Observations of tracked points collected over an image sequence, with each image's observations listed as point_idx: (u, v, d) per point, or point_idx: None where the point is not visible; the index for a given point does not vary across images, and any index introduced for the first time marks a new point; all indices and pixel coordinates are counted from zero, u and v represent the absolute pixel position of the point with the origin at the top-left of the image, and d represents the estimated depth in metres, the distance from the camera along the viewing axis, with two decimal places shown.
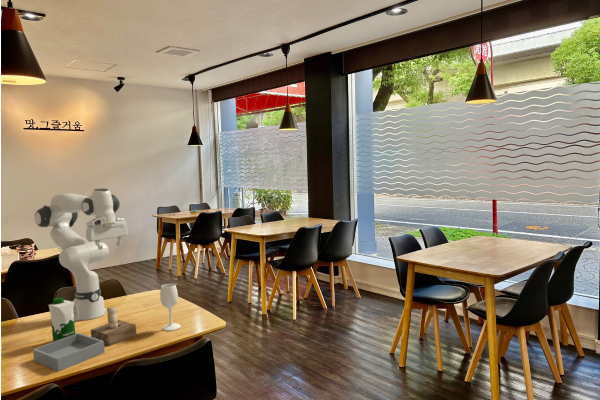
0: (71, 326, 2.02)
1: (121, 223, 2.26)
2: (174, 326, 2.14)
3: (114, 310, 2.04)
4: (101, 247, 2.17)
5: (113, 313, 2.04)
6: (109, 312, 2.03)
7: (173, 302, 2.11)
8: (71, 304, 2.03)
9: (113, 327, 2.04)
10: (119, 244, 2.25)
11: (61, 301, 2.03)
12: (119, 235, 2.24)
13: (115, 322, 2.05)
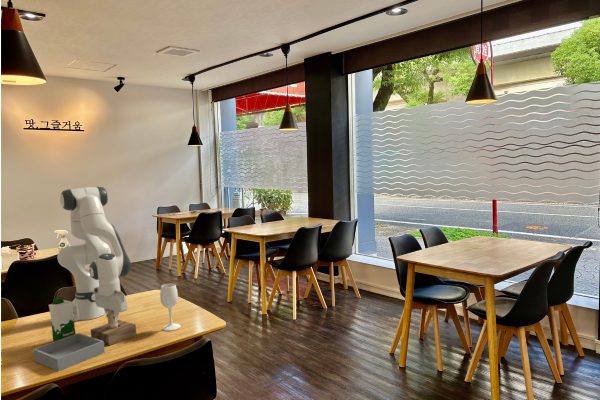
0: (71, 326, 2.02)
1: (115, 297, 1.99)
2: (174, 326, 2.14)
3: None
4: (107, 315, 2.06)
5: (113, 313, 2.04)
6: (109, 312, 2.03)
7: (173, 302, 2.11)
8: (71, 304, 2.03)
9: (113, 327, 2.04)
10: (114, 318, 2.03)
11: (61, 301, 2.03)
12: (114, 309, 2.01)
13: (115, 322, 2.05)
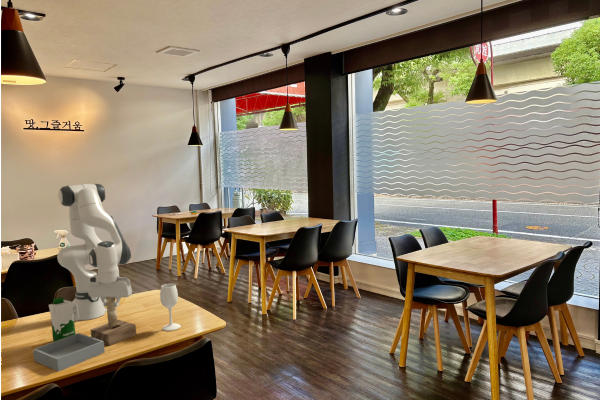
0: (71, 326, 2.02)
1: (121, 283, 2.01)
2: (174, 326, 2.14)
3: (114, 297, 2.04)
4: (105, 304, 2.05)
5: (113, 300, 2.04)
6: (110, 300, 2.03)
7: (173, 302, 2.11)
8: (71, 304, 2.03)
9: (114, 314, 2.04)
10: (115, 305, 2.04)
11: (61, 301, 2.03)
12: (118, 296, 2.02)
13: (115, 309, 2.05)
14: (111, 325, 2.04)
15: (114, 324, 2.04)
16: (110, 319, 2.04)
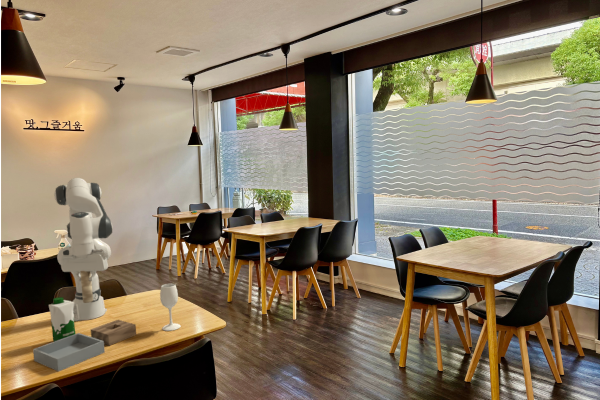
0: (71, 326, 2.02)
1: (96, 256, 1.90)
2: (174, 326, 2.14)
3: (89, 271, 1.93)
4: (79, 279, 1.93)
5: (88, 274, 1.92)
6: (84, 274, 1.91)
7: (173, 302, 2.11)
8: (71, 304, 2.03)
9: (89, 290, 1.92)
10: (90, 279, 1.92)
11: (61, 301, 2.03)
12: (93, 269, 1.90)
13: (90, 284, 1.93)
14: (86, 301, 1.92)
15: (89, 300, 1.93)
16: (85, 295, 1.92)
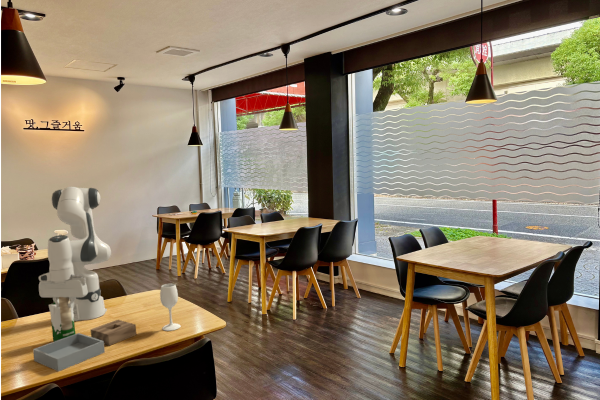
0: None
1: (75, 282, 1.81)
2: (174, 326, 2.14)
3: (68, 297, 1.85)
4: (58, 305, 1.85)
5: (67, 300, 1.84)
6: (63, 300, 1.83)
7: (173, 302, 2.11)
8: None
9: (68, 316, 1.84)
10: (69, 306, 1.84)
11: None
12: (72, 296, 1.82)
13: (69, 311, 1.85)
14: (64, 328, 1.84)
15: (68, 327, 1.84)
16: (64, 322, 1.84)
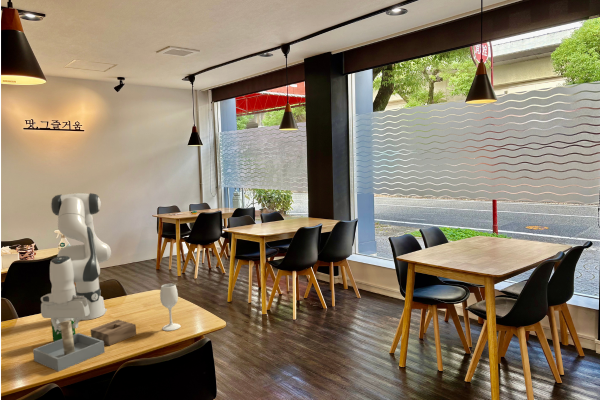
0: None
1: (77, 303, 1.82)
2: (174, 326, 2.14)
3: (70, 323, 1.86)
4: (57, 326, 1.86)
5: (69, 327, 1.85)
6: (65, 326, 1.84)
7: (173, 302, 2.11)
8: None
9: (70, 342, 1.85)
10: (74, 326, 1.84)
11: None
12: (74, 317, 1.83)
13: (71, 337, 1.86)
14: None
15: None
16: (66, 348, 1.85)
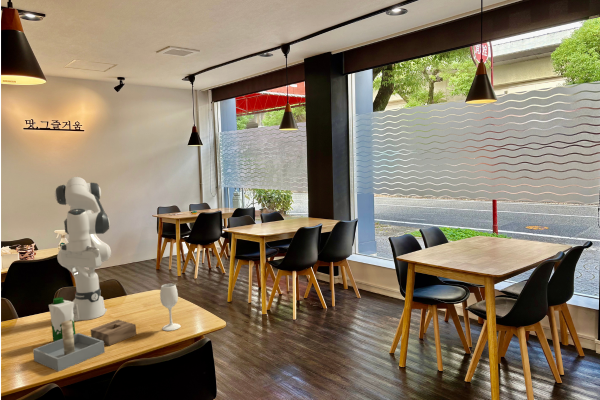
0: None
1: (89, 253, 1.92)
2: (174, 326, 2.14)
3: (71, 324, 1.86)
4: (73, 273, 1.98)
5: (70, 327, 1.85)
6: (66, 326, 1.84)
7: (173, 302, 2.11)
8: (71, 304, 2.03)
9: (70, 343, 1.85)
10: (89, 275, 1.95)
11: (61, 301, 2.03)
12: (87, 266, 1.93)
13: (72, 337, 1.86)
14: None
15: None
16: (66, 348, 1.85)
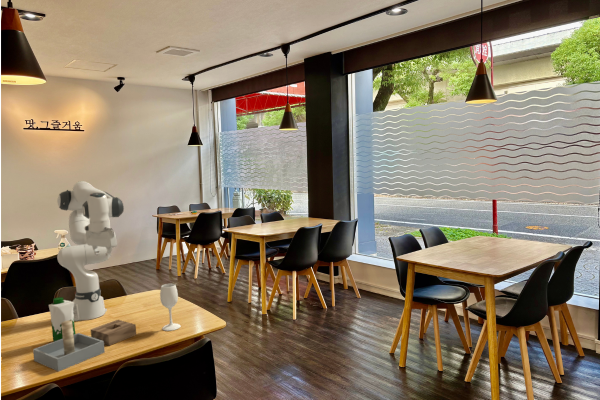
0: None
1: (105, 233, 2.06)
2: (174, 326, 2.14)
3: (71, 324, 1.86)
4: (95, 253, 2.14)
5: (70, 327, 1.85)
6: (66, 326, 1.84)
7: (173, 302, 2.11)
8: (71, 304, 2.03)
9: (70, 343, 1.85)
10: (106, 255, 2.08)
11: (61, 301, 2.03)
12: (104, 246, 2.07)
13: (72, 337, 1.86)
14: None
15: None
16: (66, 348, 1.85)
